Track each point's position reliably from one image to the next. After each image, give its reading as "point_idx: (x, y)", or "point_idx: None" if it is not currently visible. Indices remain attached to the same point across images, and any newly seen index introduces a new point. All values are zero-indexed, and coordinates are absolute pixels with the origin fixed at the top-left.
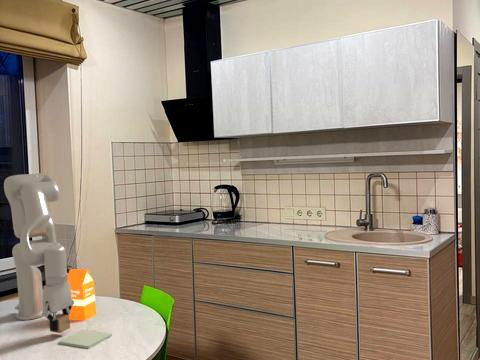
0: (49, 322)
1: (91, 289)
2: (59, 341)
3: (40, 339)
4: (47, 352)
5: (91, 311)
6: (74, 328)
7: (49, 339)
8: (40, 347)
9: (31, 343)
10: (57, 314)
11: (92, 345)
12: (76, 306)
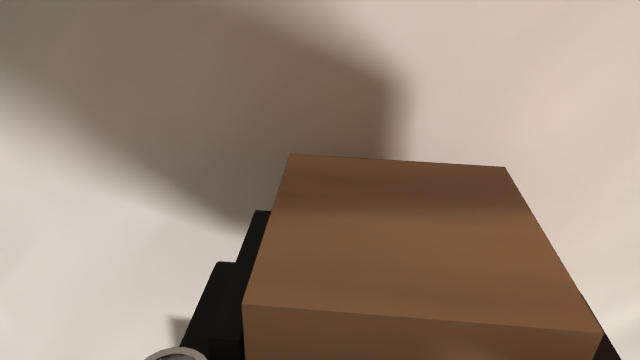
0: (264, 239)
1: None
2: None
3: (188, 52)
4: (20, 357)
5: None
6: (630, 213)
7: (235, 169)
8: (42, 234)
9: (44, 41)
10: (525, 332)
11: None
12: None
